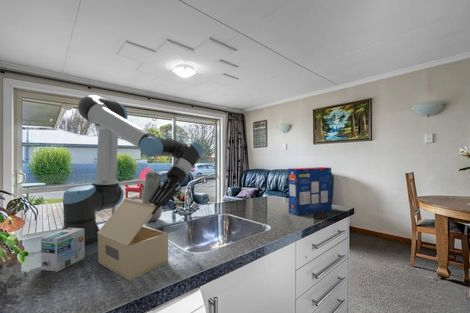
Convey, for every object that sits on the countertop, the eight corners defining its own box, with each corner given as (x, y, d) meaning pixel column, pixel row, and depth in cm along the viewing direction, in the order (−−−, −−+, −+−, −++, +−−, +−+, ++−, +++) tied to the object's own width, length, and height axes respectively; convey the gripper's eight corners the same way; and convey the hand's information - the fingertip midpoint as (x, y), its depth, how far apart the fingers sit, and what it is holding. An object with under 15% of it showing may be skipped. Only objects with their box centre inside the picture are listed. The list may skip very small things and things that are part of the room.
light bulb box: (57, 272, 71) (56, 238, 71) (40, 270, 73) (39, 237, 73) (85, 257, 82) (85, 228, 82) (70, 256, 83) (70, 227, 83)
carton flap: (98, 233, 78) (96, 232, 77) (125, 200, 86) (124, 199, 85) (127, 246, 66) (126, 245, 66) (156, 206, 74) (155, 205, 74)
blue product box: (322, 208, 153) (321, 167, 153) (331, 210, 146) (331, 167, 146) (288, 212, 142) (288, 168, 142) (297, 215, 135) (296, 169, 134)
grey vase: (139, 223, 124) (138, 172, 123) (149, 218, 134) (148, 171, 134) (156, 223, 122) (155, 172, 122) (164, 218, 132) (164, 170, 132)
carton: (97, 262, 78) (97, 233, 78) (136, 248, 89) (135, 223, 89) (128, 280, 66) (127, 246, 66) (168, 262, 77) (167, 233, 77)
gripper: (195, 178, 93) (161, 229, 79) (174, 176, 100) (140, 223, 87) (185, 165, 88) (147, 217, 75) (164, 165, 96) (126, 212, 83)
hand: (143, 220), depth 81 cm, fingers closed
